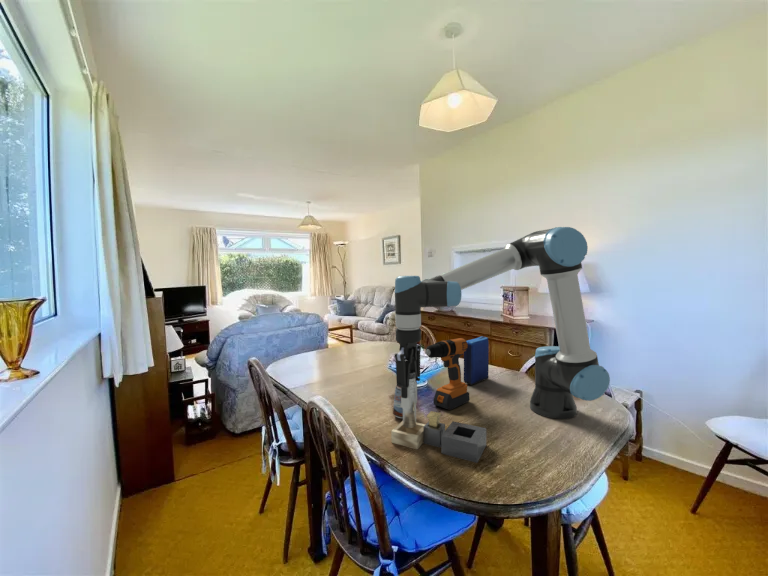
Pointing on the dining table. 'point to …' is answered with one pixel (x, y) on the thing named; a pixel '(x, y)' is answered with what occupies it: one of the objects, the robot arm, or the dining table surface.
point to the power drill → (450, 373)
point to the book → (476, 360)
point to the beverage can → (398, 403)
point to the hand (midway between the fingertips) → (409, 404)
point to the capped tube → (410, 414)
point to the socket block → (457, 440)
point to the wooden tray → (408, 435)
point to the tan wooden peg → (434, 419)
